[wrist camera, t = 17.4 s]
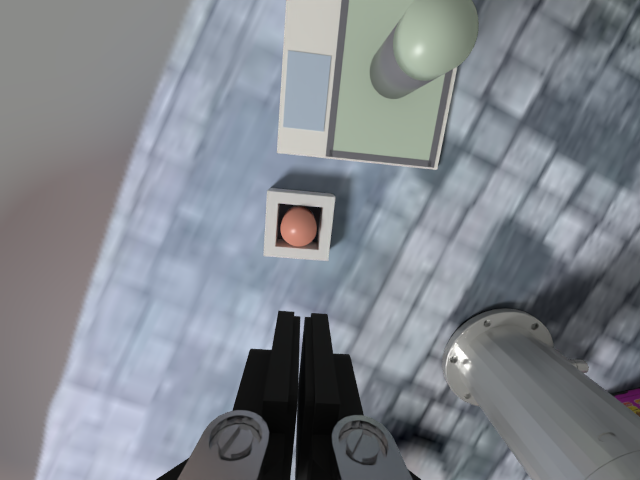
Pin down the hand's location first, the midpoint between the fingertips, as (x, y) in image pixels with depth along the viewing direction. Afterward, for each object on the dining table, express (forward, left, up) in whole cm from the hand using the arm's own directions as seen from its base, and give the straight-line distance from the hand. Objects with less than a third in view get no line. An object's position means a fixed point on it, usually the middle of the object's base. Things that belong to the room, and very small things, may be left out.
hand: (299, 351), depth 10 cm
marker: (-7, -14, -20) cm, 25 cm away
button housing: (0, 0, -21) cm, 21 cm away
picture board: (-5, -14, -21) cm, 25 cm away
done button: (0, 0, -20) cm, 20 cm away
